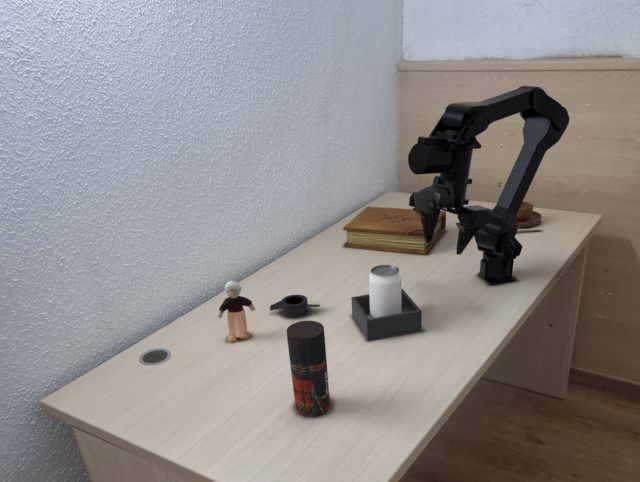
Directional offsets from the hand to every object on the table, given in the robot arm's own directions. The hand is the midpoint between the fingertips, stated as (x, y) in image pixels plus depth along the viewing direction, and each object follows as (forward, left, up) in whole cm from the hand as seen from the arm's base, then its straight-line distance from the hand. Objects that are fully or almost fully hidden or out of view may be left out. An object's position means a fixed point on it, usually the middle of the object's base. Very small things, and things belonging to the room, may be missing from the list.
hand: (442, 248), depth 129 cm
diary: (-3, -40, -12) cm, 42 cm away
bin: (+15, +6, -12) cm, 20 cm away
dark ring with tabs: (+32, -6, -12) cm, 35 cm away
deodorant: (+36, +30, -12) cm, 48 cm away
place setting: (-35, -39, -12) cm, 54 cm away
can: (+15, +6, -12) cm, 20 cm away
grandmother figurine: (+45, +1, -12) cm, 47 cm away
